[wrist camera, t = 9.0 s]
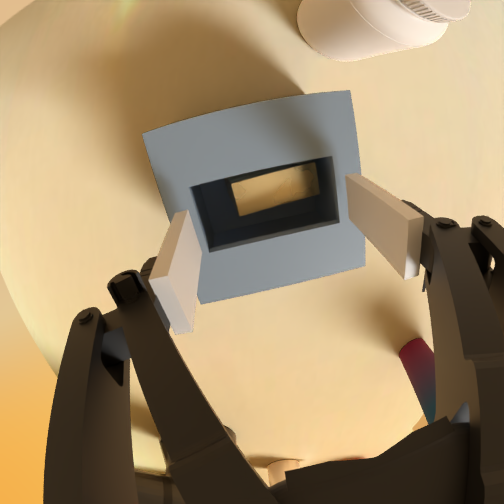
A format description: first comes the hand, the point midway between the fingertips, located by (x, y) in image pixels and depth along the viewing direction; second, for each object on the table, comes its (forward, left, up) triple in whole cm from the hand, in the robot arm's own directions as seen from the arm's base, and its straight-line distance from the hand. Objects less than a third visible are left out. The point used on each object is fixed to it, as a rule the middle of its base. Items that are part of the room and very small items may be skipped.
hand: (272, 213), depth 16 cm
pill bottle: (+11, +13, -12) cm, 20 cm away
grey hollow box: (0, 0, -11) cm, 11 cm away
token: (0, 0, -10) cm, 10 cm away
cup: (+20, -33, -12) cm, 40 cm away
